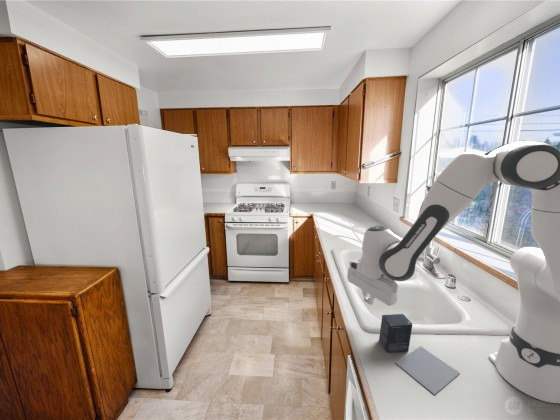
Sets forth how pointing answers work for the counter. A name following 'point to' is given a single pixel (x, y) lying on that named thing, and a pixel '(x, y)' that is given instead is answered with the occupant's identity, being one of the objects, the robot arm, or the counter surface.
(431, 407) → the counter surface
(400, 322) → the box
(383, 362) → the counter surface
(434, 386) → the mat
